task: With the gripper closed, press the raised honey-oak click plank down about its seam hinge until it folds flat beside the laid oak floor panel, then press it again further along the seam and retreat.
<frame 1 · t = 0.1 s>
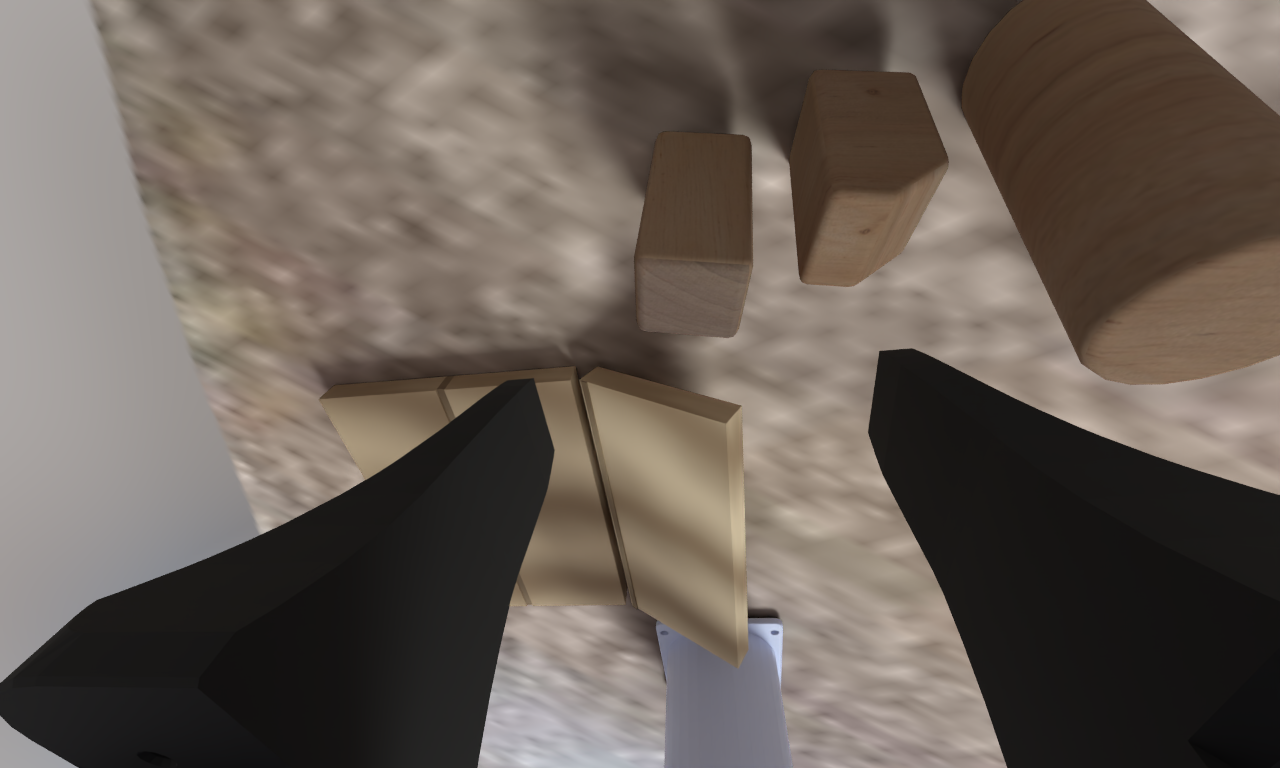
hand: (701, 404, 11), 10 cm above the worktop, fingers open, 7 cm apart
floor panel: (499, 498, 27), on the worktop
oak plank: (673, 530, 24), point 3 cm above the worktop, hinge at 32.0°
wooden block set: (911, 165, 17), on the worktop
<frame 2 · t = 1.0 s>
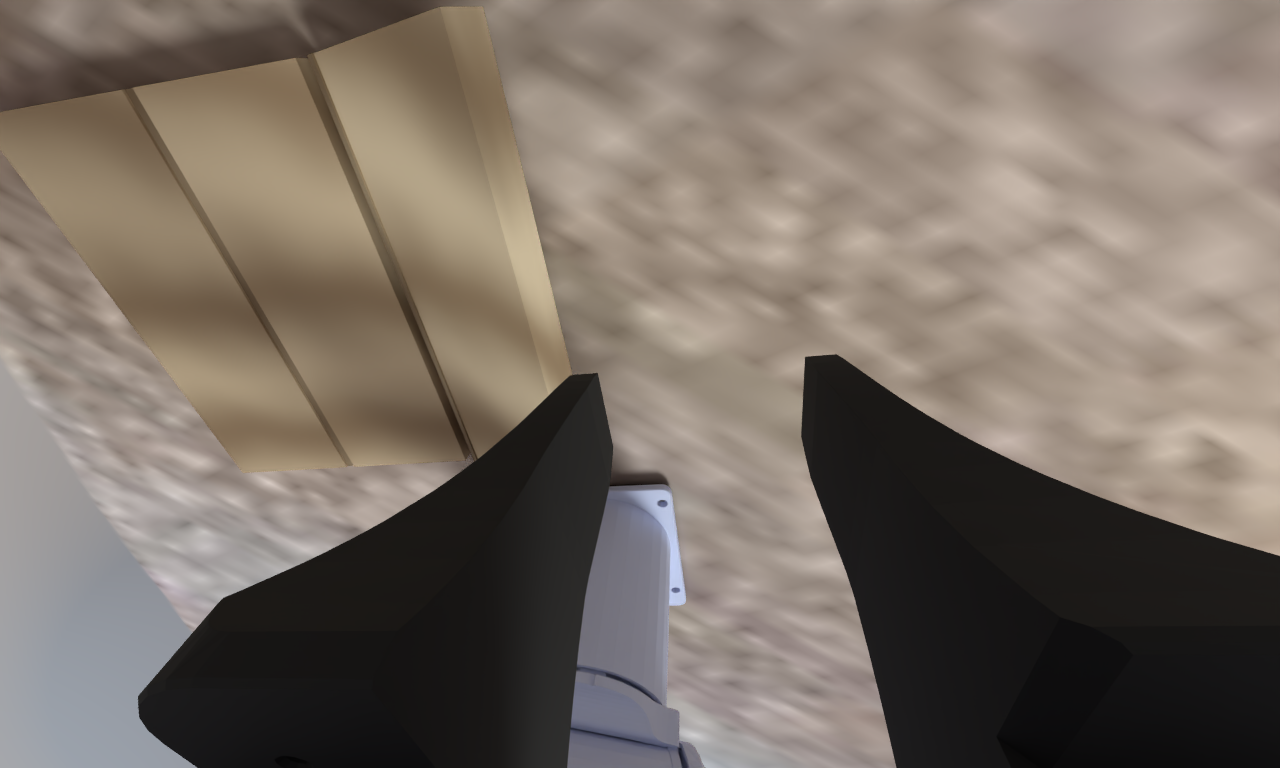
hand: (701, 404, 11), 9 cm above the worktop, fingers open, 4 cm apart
floor panel: (282, 306, 21), on the worktop
oak plank: (475, 309, 17), point 3 cm above the worktop, hinge at 32.0°
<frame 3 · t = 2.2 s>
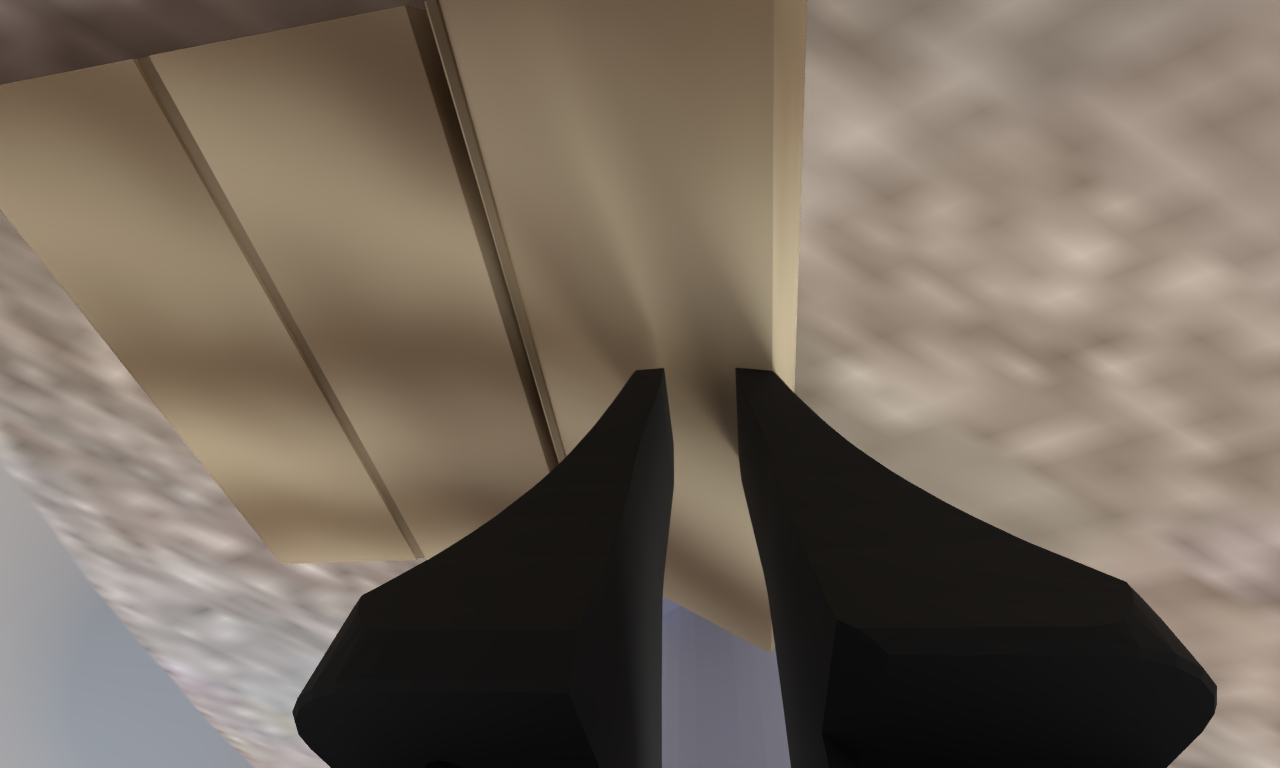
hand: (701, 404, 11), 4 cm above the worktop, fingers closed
floor panel: (345, 360, 15), on the worktop
oak plank: (644, 378, 12), point 3 cm above the worktop, hinge at 30.9°, touching gripper
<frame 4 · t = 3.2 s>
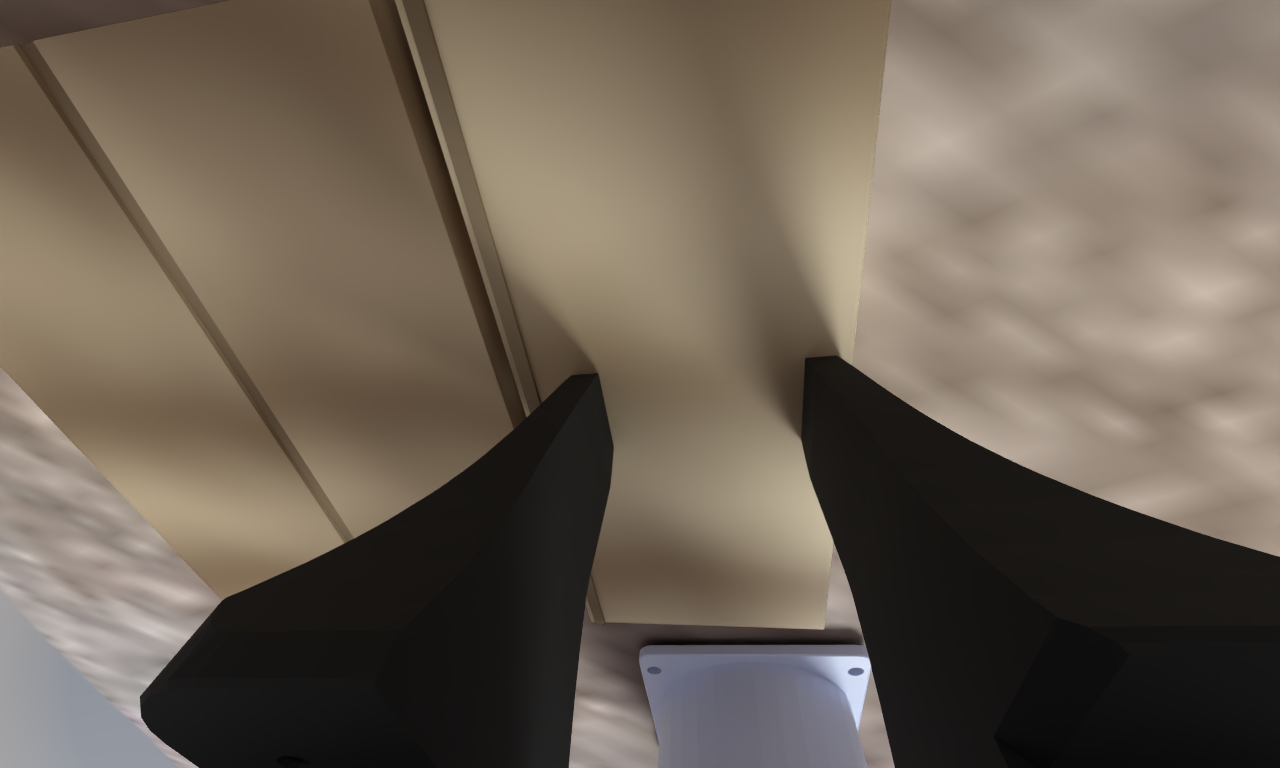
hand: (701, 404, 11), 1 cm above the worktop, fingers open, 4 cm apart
floor panel: (309, 405, 13), on the worktop
oak plank: (679, 395, 11), point 1 cm above the worktop, hinge at 2.4°, touching gripper
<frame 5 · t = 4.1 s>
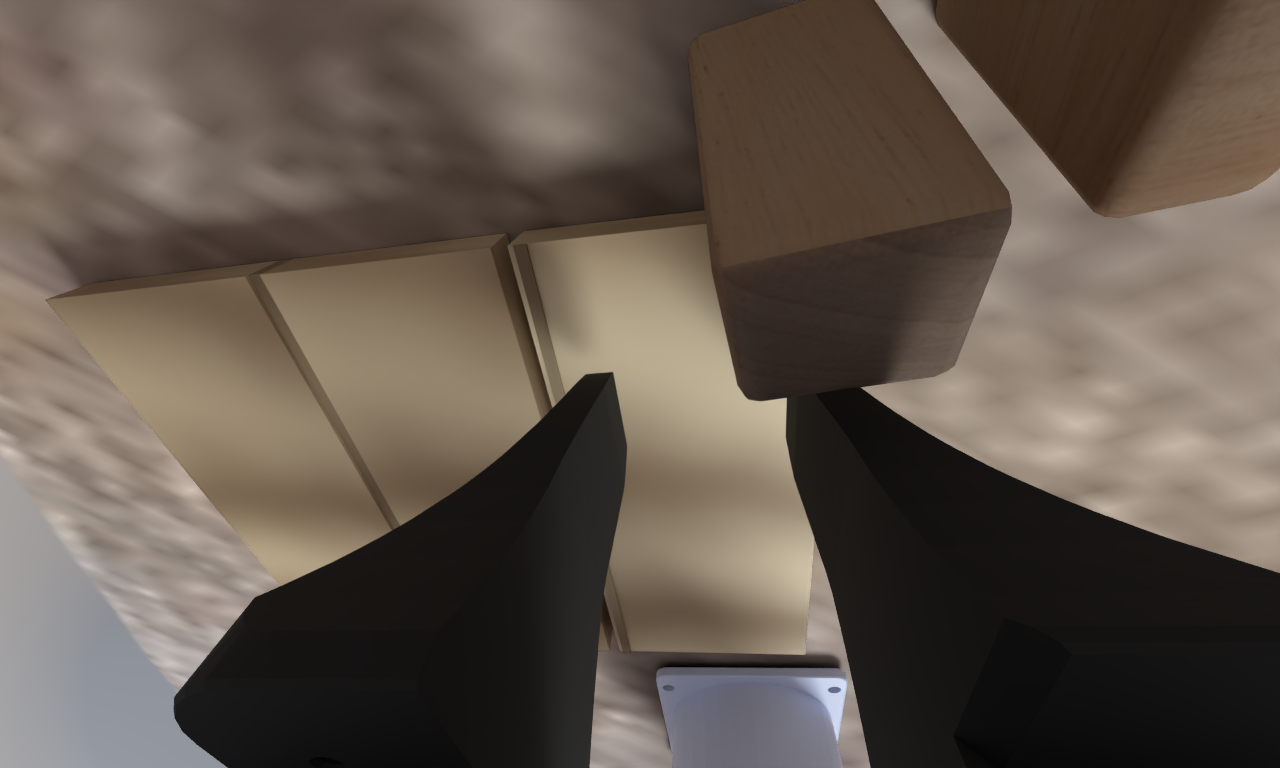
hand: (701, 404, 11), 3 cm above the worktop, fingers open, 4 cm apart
floor panel: (404, 486, 17), on the worktop
oak plank: (693, 488, 15), point 1 cm above the worktop, hinge at 1.1°
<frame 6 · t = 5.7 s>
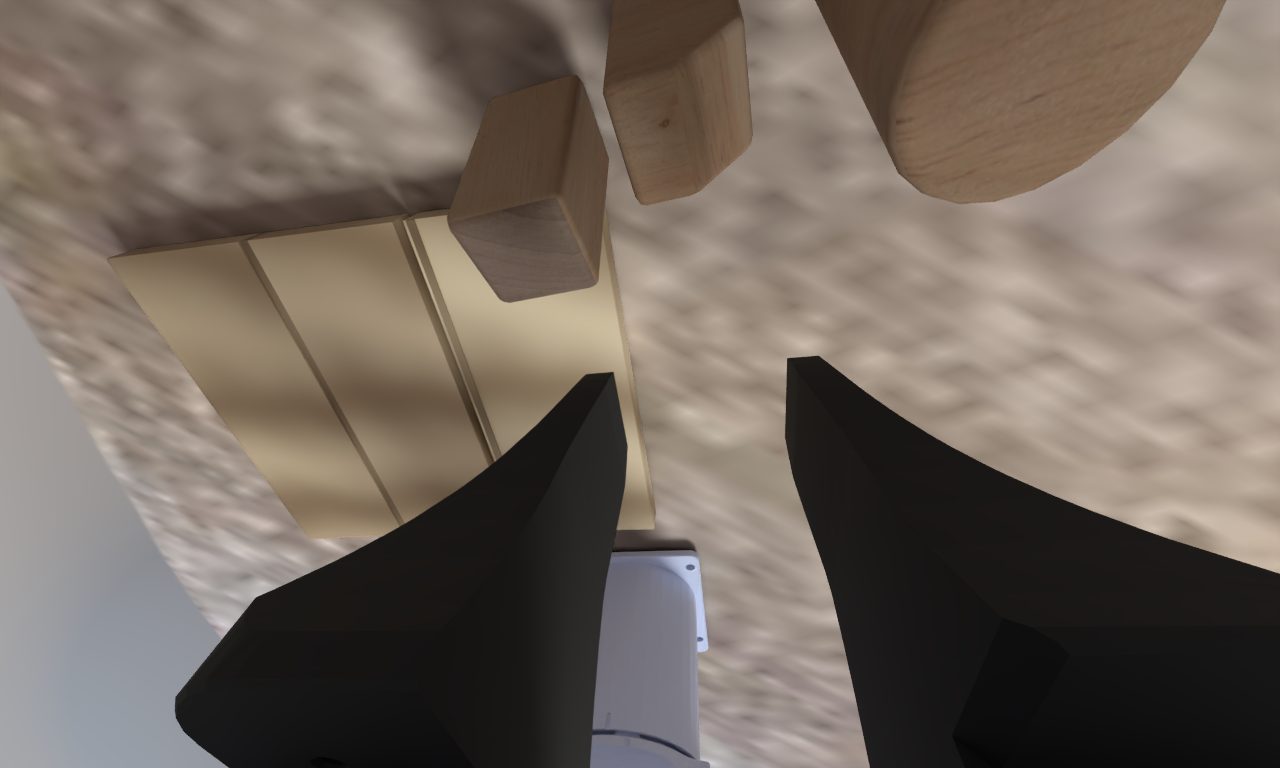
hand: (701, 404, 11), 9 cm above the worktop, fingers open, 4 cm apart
floor panel: (355, 401, 23), on the worktop
oak plank: (553, 394, 21), point 1 cm above the worktop, hinge at 1.1°
wooden block set: (775, 53, 15), on the worktop
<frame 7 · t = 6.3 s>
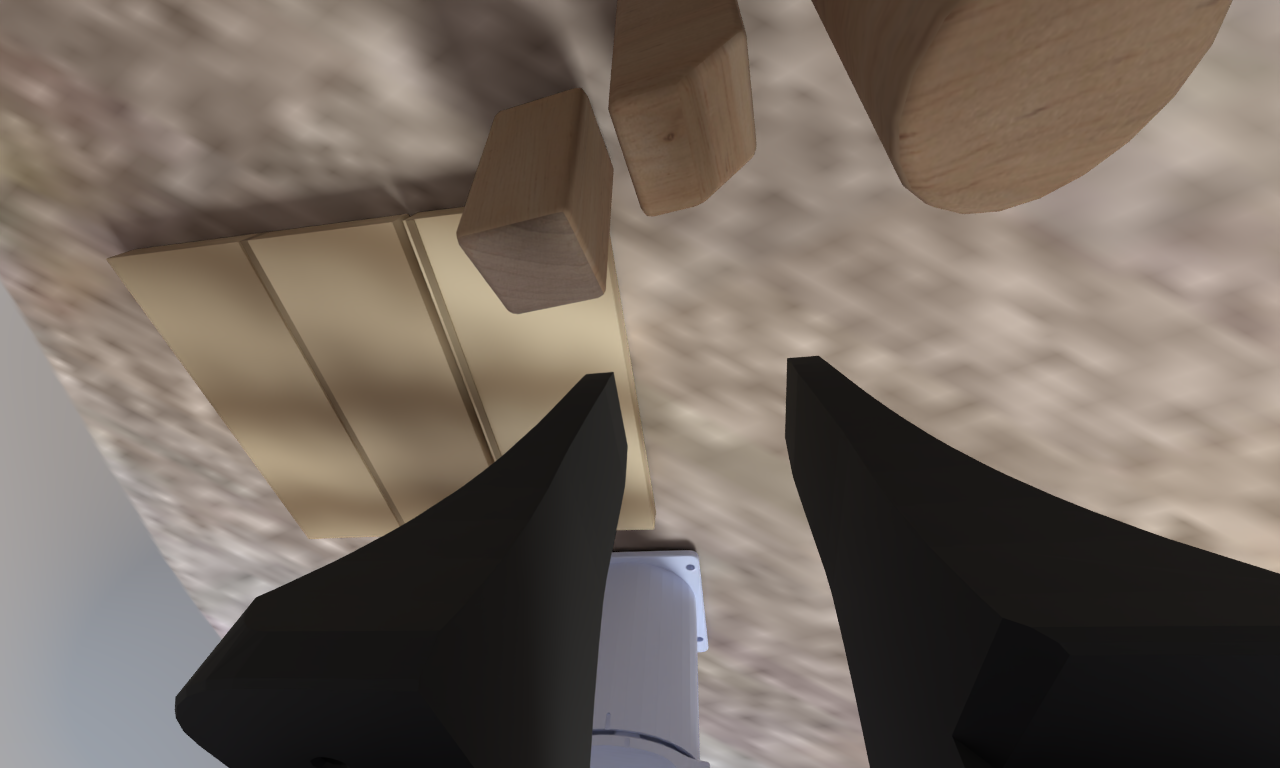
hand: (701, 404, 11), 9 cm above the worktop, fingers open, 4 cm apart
floor panel: (355, 401, 23), on the worktop
oak plank: (553, 394, 21), point 1 cm above the worktop, hinge at 1.3°
wooden block set: (777, 61, 15), on the worktop
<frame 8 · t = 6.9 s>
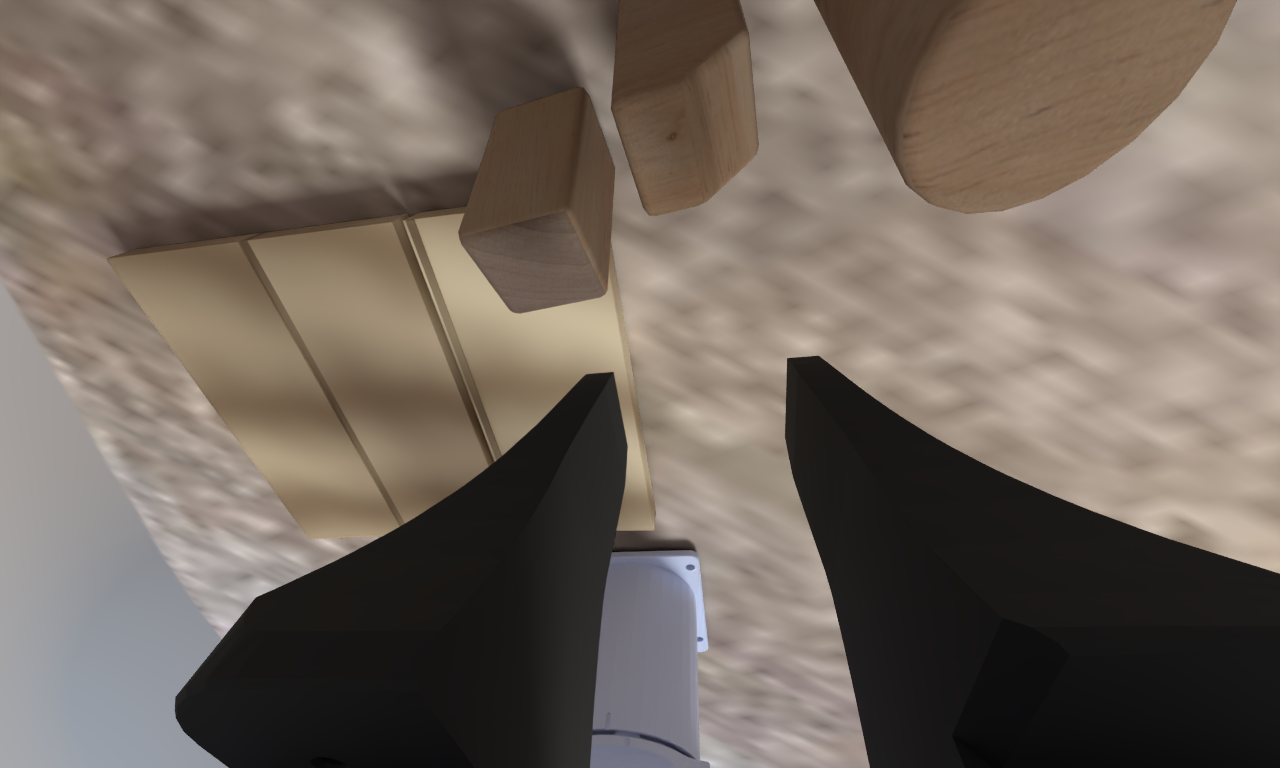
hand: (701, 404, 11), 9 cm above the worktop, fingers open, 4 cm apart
floor panel: (355, 401, 23), on the worktop
oak plank: (553, 395, 21), point 1 cm above the worktop, hinge at 1.7°
wooden block set: (779, 61, 15), on the worktop
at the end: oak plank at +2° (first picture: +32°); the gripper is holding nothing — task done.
